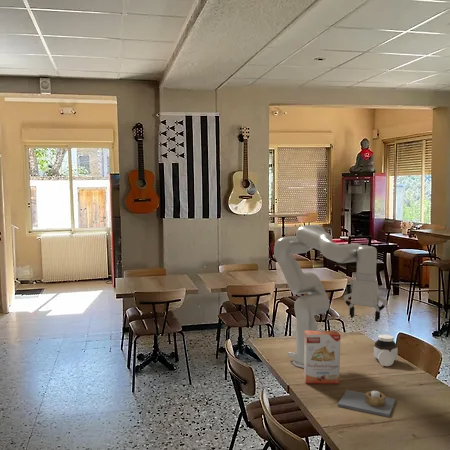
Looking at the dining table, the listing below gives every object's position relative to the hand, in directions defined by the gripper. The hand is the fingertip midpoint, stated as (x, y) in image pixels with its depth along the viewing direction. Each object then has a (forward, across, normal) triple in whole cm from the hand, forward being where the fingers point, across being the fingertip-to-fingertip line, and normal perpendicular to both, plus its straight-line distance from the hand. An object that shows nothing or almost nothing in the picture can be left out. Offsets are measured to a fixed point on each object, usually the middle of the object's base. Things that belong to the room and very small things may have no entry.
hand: (364, 318), depth 191 cm
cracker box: (+28, -15, -5) cm, 32 cm away
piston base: (+27, +6, -17) cm, 33 cm away
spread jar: (+28, +4, +32) cm, 42 cm away
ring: (+26, +9, -17) cm, 32 cm away
